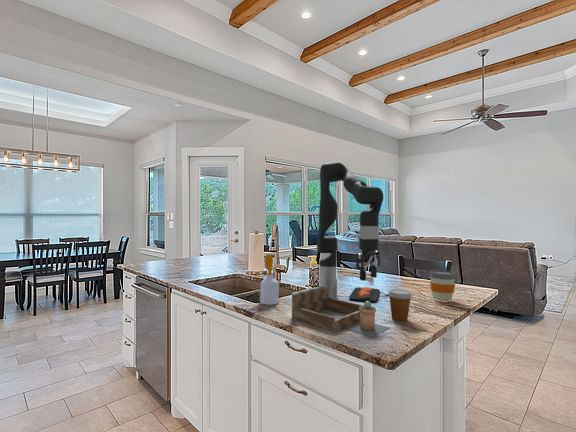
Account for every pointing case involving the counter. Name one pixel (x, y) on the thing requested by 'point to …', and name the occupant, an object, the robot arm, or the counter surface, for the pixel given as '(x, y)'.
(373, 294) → the sushi plate
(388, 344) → the counter surface
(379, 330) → the slate mat
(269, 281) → the soap bottle
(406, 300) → the disposable coffee cup
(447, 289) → the reusable coffee cup
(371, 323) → the terracotta pot
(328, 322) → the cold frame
